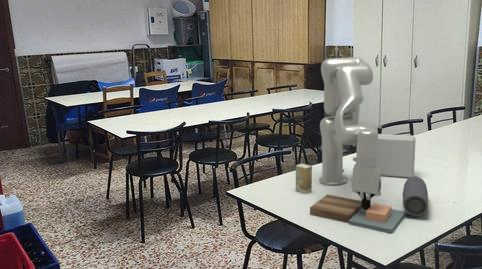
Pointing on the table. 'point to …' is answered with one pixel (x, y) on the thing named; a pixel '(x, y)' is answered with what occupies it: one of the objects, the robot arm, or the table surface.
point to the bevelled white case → (396, 155)
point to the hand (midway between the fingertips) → (366, 208)
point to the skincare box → (303, 178)
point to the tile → (378, 212)
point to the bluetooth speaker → (415, 196)
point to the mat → (387, 227)
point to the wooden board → (336, 208)
